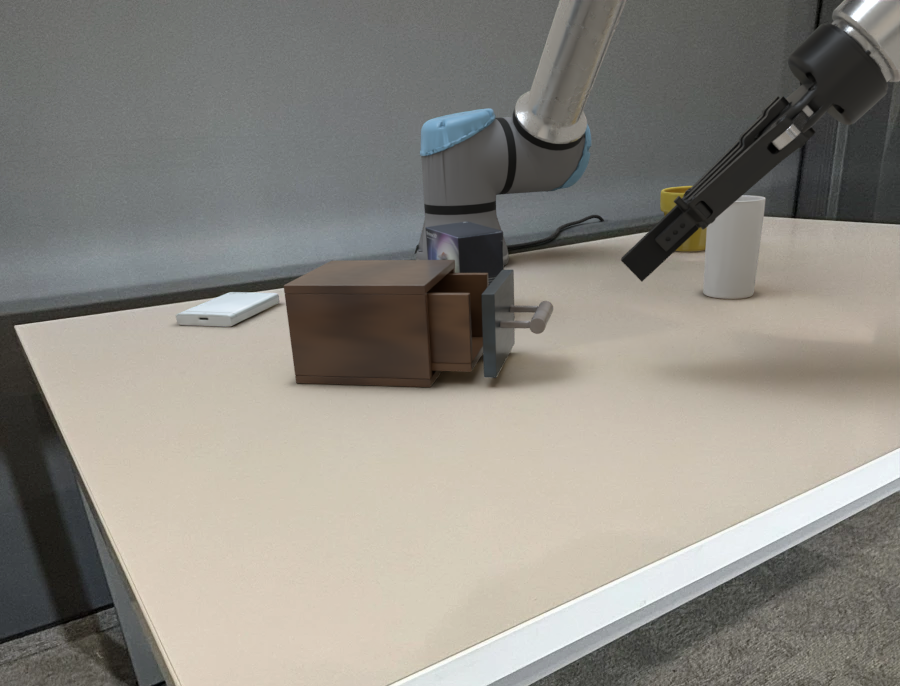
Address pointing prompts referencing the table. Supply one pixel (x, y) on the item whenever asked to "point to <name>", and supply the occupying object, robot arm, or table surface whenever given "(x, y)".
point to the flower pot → (667, 204)
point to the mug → (734, 249)
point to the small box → (467, 247)
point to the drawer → (477, 321)
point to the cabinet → (364, 322)
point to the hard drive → (227, 309)
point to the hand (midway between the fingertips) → (631, 269)
